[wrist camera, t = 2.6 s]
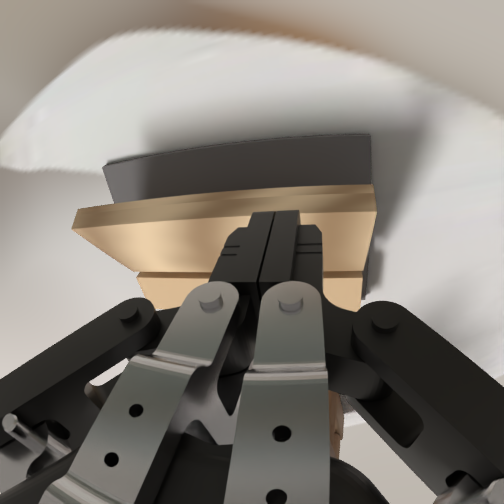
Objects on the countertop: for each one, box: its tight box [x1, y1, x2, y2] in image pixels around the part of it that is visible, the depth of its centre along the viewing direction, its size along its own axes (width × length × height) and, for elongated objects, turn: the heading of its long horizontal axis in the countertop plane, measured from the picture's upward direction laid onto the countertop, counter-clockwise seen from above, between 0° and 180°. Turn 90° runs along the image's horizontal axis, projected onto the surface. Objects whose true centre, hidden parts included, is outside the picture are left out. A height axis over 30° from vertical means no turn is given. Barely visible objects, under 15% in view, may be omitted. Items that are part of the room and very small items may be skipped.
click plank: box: [72, 184, 377, 272], centre depth 17 cm, size 16×7×1 cm
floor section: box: [102, 134, 371, 312], centre depth 20 cm, size 17×12×2 cm
